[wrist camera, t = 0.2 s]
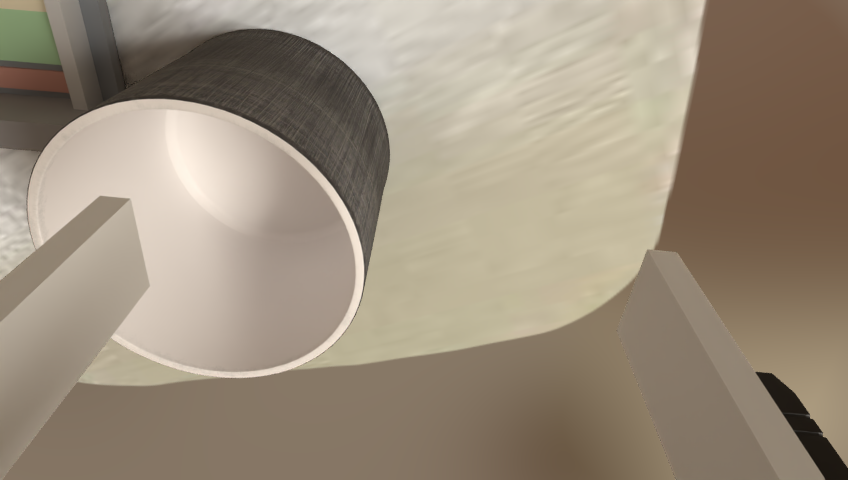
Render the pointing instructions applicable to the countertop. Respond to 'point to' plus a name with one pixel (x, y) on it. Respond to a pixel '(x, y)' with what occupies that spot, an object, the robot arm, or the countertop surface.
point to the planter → (232, 200)
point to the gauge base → (53, 67)
